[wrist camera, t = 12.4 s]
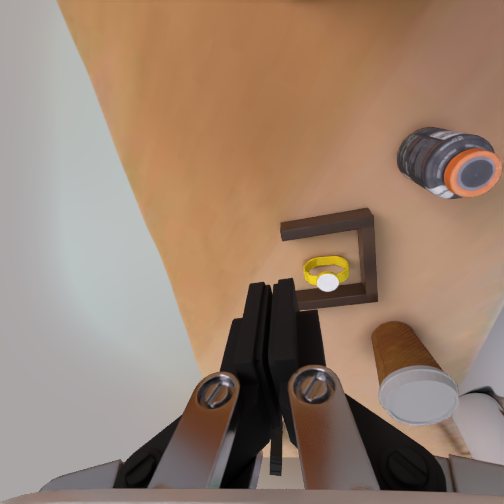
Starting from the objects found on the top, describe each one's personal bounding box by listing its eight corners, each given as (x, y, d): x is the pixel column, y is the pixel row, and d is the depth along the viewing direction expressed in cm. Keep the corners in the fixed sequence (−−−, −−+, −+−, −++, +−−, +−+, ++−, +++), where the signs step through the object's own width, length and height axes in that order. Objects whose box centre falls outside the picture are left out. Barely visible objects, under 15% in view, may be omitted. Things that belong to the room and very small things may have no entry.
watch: (344, 248, 42) (352, 270, 36) (346, 265, 43) (354, 289, 38) (301, 254, 43) (303, 276, 38) (304, 271, 44) (306, 294, 39)
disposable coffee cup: (434, 342, 47) (476, 413, 37) (379, 365, 51) (403, 435, 40) (406, 302, 45) (443, 366, 34) (350, 330, 48) (367, 395, 37)
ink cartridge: (271, 418, 61) (269, 461, 54) (282, 420, 60) (282, 462, 53) (271, 433, 63) (269, 476, 56) (281, 434, 63) (281, 477, 56)
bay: (280, 222, 41) (280, 231, 38) (367, 207, 39) (373, 215, 36) (295, 298, 46) (296, 311, 44) (372, 289, 44) (378, 301, 42)
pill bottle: (414, 188, 37) (461, 222, 27) (385, 154, 35) (423, 176, 25) (461, 153, 35) (531, 175, 25) (431, 114, 33) (493, 121, 23)
